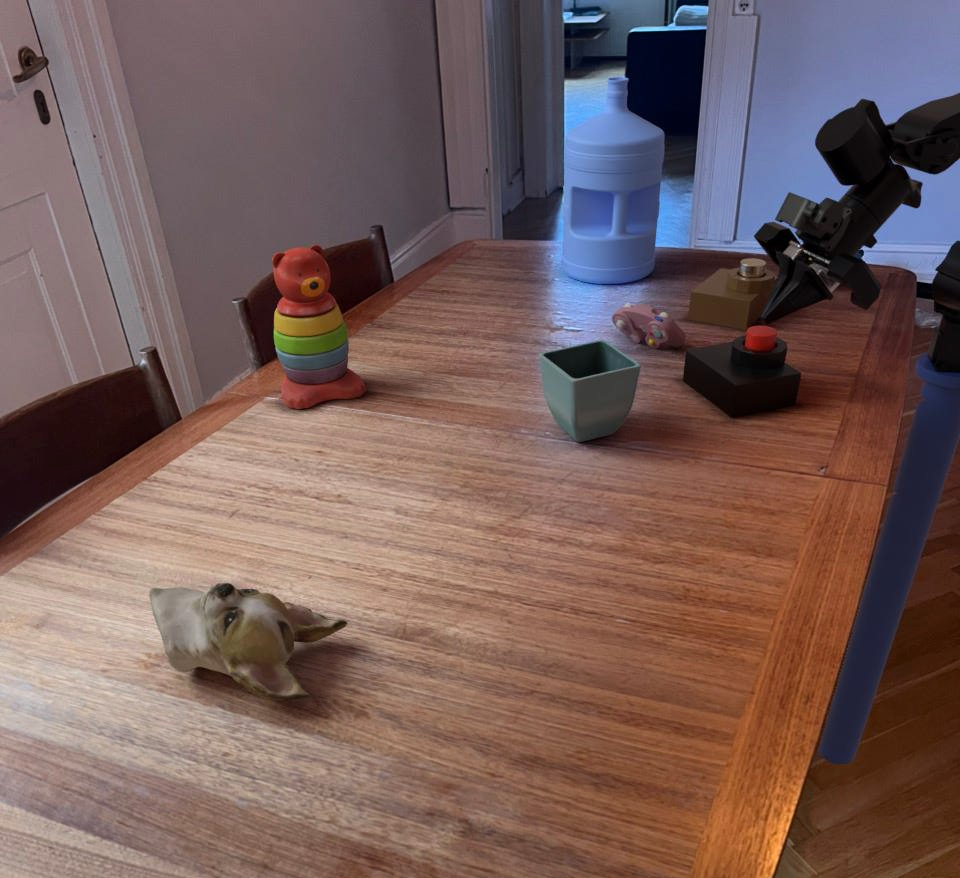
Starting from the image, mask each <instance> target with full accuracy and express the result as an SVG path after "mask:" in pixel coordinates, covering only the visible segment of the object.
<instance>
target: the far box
mask: <svg viewBox="0 0 960 878" xmlns="http://www.w3.org/2000/svg"><path fill="white" fill-rule="evenodd" d="M739 268H740V266H739V267H735V268H731V269H729V268H722V267H720V268H719V269H718V270H717V271H715V272H713V274H711V275H710V276H709V277H708V278H707V279H705V280H704V281H703V282H701V283H700V284H698V285H697V286H696V287H695V288H694V289H692V290H691V291H690V296H689V307H688V315H687V320H688V321H690V322H691V321H692V322H697V323H704V324H709V325H714V326H719V327H727V328H732V329H735V330H736V329H737V330H743V331H747V329H748V328H750V327H752V326H753V325H754V323H756V322H757V321H758V320H759V319H760V315H761V313H762V311H763V309H764V307H765V305H766V302H767V300H768V298H769V296H770V294H771V292H772V289H773V287H774V285H775V282H776V280H777V277H778V275H777V276H776V274H775V273H774V271H773V270H770V269H767V268H765V273H764V277H762V278H744V277H741V276H739Z"/></svg>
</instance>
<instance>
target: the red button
mask: <svg viewBox="0 0 960 878" xmlns="http://www.w3.org/2000/svg"><path fill="white" fill-rule="evenodd" d="M745 335H746V340H745V347H746V348H749V349H753V350H759V351H767V350H772V349H774V348H775V343H776V337H777V336H778V330H777V329H775V328H774V327H771V326H767V325H752V326H750V327H749V328H748V329H747V330H746V333H745Z"/></svg>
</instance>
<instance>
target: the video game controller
mask: <svg viewBox="0 0 960 878" xmlns="http://www.w3.org/2000/svg"><path fill="white" fill-rule="evenodd" d="M611 321H612V323H613V325H614V326H615V327H616V329H618V330H619V331H620V332H621V333H623V334H625V336H626V337H627V338H628V339H629V341H631V342H632V343H634V344H639V343H640V342H642V340H643V339H644V340H645V343H646V345H648V346H649V347H650V348H652V349H654V350H655V349H656V350H657V349H658V348H659V347H660V346H661V345H662V344H663V343H666V344H667V345H669V346H671V347H672V348H676V349H677V348H678V349H679V348H682V347H683V346H684V345H685V344H686V343H685V342H686V333H685V331H684V330H683V329H682V328H681V327H680V326H679V325H678V324H677V323H676V321H675V319H673V317H671V316H669V314H668V313H667V312H665V311H664V312H663V311H662V312H661V311H660V310H658V309H657V308H656V307H653V306H652V305H649V304H644V303H641V304H640V303H639V304H634V305H632V304H631V303H629V302H626V303H625V304H624V305H623V306H621V307H619V308H618V309H616V311H615V312H614V313H613V315H612V316H611ZM644 330H645V331H647V334H646V336H645V332H644Z"/></svg>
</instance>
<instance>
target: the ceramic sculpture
mask: <svg viewBox="0 0 960 878" xmlns="http://www.w3.org/2000/svg"><path fill="white" fill-rule="evenodd" d="M148 598H149V601H150V605H151V606H150V607H151V613H152V616H153V618H154V622H155V624H156V627H157V629H158V632H159V634H160V638H161V640H162V644H163V648H164V649H163V650H164V652H165V653H164V654H165V655H166V657H167V662H168V663H169V665H170V666H171V668H173V669H174V670H176V671H177V672H180V673H190V672H192V671H194V670H195V669H196V668H205V669H208V670H210V671H214V672H218V673H221V674H224V675H228V676H230V677H231V678H232V679H233V680H234V681H235V682H236V683H238V684H239V685H241V686H243V687H244V688H245V689H247V690H248V691H249V692H250V693H251V694H253V695H255V696H257V697H259V698H261V699H264V700H267V701H278V702H281V701H282V702H284V701H285V702H287V701H294V700H303V699H308V698H309V697H310V694H309V692H307V690H305V688H303V686H302V684H301V682H300V680H299V679H298V677H297V675H296V674H295V672H294V671H293V670H292V668H291V667H290V666H289V664H286V663H287V662H288V661H289V660H290V659H291V657H292V655H293V651H294V647H295V643H307V644H312V643H316V642H318V641H320V640H323V639H325V638H327V637H330V636H332V635H334V634H336V633H337V632H338V631H340V630H342V629H344V628H346V627H347V625H348V621H347V620H344V619H340V618H339V619H331V618H328V617H325V616H324V615H322V614H320V613H319V612H313V610H312V609H311V608H308V607H306V606H304V605H301V604H300V605H297V604H294V603H291V602H290V601H286V602H283V600H281V599H280V598H278V597H277V596H276V595H275V594H274V593H270V592H260V591H259V590H258V589H257V588H256V589H255V588H236V587H235V585H233V584H232V583H229V582H220V583H217V584H215V585H212V586H210V587H209V588H206V590H205V591H202V590H199V589H195V588H189V587H184V586H176V587H166V588H159V587H151V588H150V589H149V593H148Z"/></svg>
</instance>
